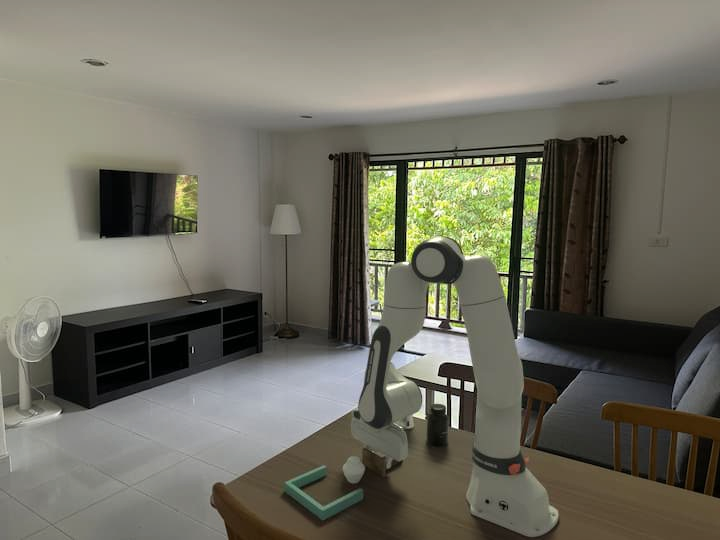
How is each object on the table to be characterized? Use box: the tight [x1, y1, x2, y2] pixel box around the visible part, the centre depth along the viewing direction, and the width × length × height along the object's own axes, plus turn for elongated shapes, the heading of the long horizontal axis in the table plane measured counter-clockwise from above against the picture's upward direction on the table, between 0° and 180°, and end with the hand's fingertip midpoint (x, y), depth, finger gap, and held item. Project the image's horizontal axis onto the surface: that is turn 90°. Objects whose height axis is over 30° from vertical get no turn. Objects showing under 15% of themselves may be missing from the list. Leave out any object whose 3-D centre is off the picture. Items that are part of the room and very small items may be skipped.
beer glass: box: [395, 414, 415, 431], centre depth 168 cm, size 7×7×15 cm
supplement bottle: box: [426, 403, 450, 447], centre depth 156 cm, size 7×7×12 cm
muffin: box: [342, 455, 366, 484], centre depth 134 cm, size 6×6×7 cm
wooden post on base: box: [361, 447, 404, 478], centre depth 142 cm, size 9×11×5 cm
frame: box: [283, 464, 364, 521], centre depth 127 cm, size 16×13×2 cm
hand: (378, 462), depth 140 cm, fingers open, 5 cm apart
